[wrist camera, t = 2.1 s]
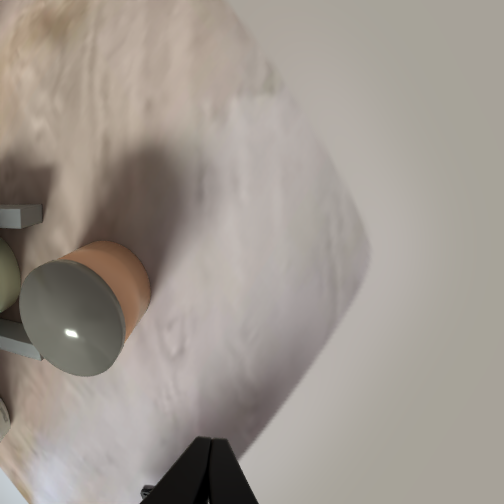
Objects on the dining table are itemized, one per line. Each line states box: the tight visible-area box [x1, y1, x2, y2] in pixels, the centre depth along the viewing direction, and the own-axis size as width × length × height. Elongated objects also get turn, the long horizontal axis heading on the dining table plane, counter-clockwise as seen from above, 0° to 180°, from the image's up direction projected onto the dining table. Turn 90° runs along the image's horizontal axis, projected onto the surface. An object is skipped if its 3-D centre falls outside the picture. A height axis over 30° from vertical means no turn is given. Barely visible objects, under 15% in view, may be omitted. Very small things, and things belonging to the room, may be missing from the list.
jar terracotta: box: [19, 241, 151, 377], centre depth 17 cm, size 6×6×6 cm
